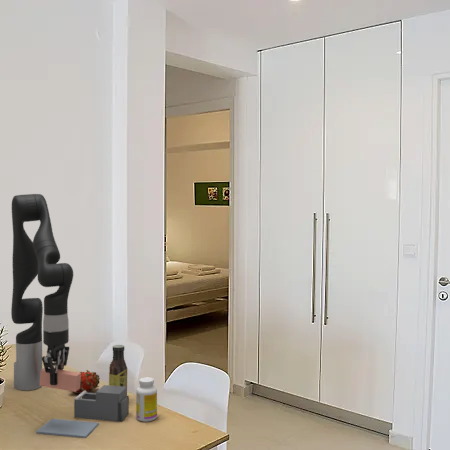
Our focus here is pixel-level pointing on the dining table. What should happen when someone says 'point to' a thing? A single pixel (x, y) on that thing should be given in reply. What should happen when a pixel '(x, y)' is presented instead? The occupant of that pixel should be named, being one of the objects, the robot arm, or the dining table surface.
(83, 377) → the dragon fruit
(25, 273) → the robot arm
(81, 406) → the dispenser
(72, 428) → the rubber mat
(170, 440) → the dining table surface
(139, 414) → the supplement bottle
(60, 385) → the pink rectangular block
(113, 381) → the sauce bottle
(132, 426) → the dining table surface
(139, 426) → the dining table surface
